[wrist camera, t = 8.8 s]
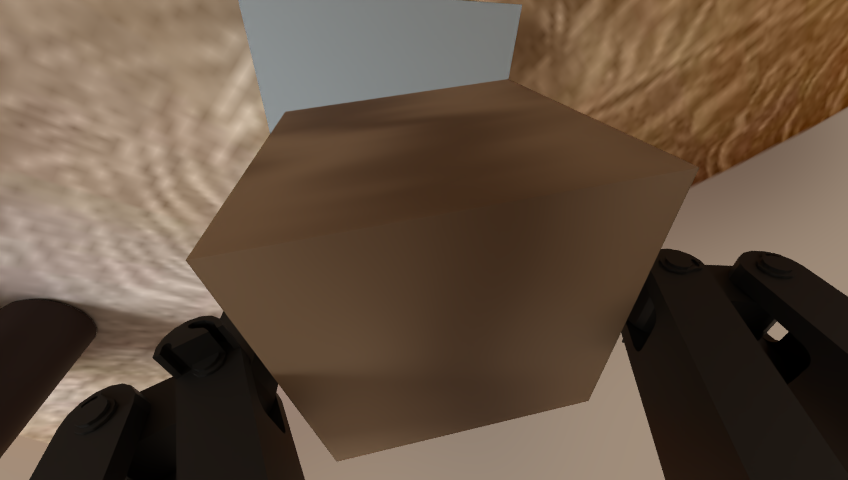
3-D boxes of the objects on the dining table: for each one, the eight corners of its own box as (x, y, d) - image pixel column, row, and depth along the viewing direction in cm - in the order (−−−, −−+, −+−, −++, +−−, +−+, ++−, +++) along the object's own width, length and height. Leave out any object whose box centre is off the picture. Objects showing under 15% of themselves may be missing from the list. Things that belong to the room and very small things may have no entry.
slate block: (305, 197, 27) (295, 237, 22) (263, -9, 19) (234, -16, 14) (460, 190, 29) (481, 225, 25) (484, 5, 21) (522, 4, 17)
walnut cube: (343, 277, 16) (336, 461, 9) (285, 111, 11) (185, 260, 4) (497, 248, 16) (588, 400, 10) (508, 79, 11) (700, 167, 5)
